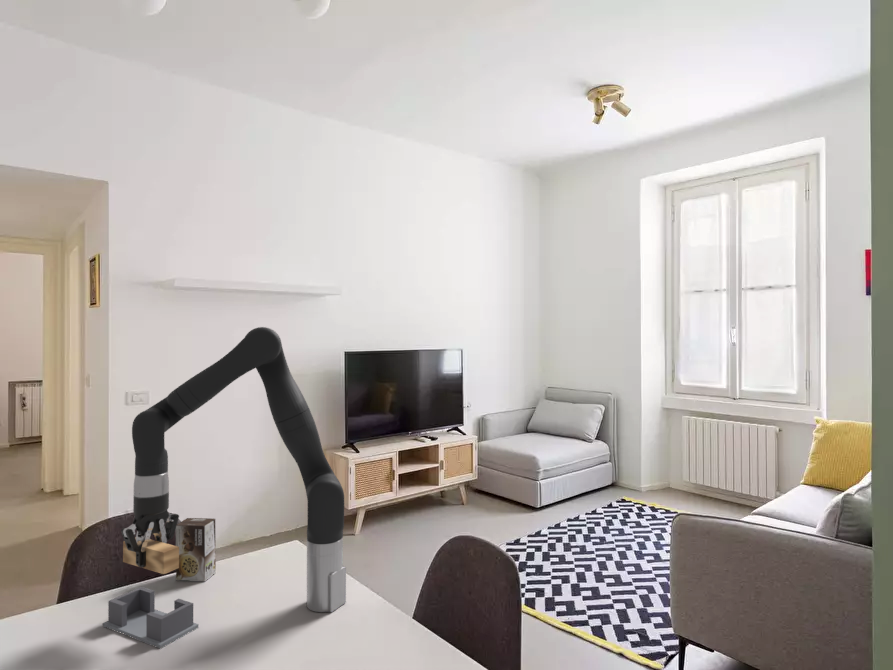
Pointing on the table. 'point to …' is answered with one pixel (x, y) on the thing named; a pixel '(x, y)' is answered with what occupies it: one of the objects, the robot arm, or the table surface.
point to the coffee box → (196, 549)
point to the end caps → (149, 618)
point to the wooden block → (155, 556)
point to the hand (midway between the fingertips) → (150, 562)
